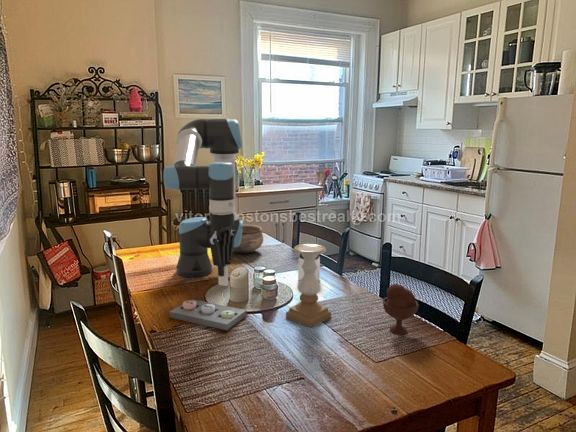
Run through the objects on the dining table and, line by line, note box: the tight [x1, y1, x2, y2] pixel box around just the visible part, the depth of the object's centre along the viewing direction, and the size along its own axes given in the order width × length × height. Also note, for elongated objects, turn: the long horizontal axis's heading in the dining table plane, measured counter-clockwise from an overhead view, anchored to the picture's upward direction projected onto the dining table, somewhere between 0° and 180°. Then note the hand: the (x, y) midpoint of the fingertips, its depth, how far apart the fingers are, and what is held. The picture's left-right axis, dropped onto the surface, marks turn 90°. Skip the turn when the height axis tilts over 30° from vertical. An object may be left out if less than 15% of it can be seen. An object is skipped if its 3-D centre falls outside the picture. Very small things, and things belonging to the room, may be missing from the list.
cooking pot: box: [233, 224, 264, 255], centre depth 222 cm, size 25×19×12 cm
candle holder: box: [285, 243, 332, 328], centre depth 145 cm, size 11×11×24 cm
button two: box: [182, 299, 196, 311], centre depth 150 cm, size 4×4×3 cm
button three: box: [201, 303, 215, 315], centre depth 147 cm, size 4×4×3 cm
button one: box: [221, 310, 235, 319], centre depth 144 cm, size 4×4×3 cm
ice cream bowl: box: [382, 283, 420, 336], centre depth 137 cm, size 11×11×15 cm
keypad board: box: [169, 298, 247, 331], centre depth 147 cm, size 22×12×2 cm, turn 65°
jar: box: [297, 253, 321, 281], centre depth 184 cm, size 9×8×12 cm
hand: (223, 284), depth 143 cm, fingers closed
